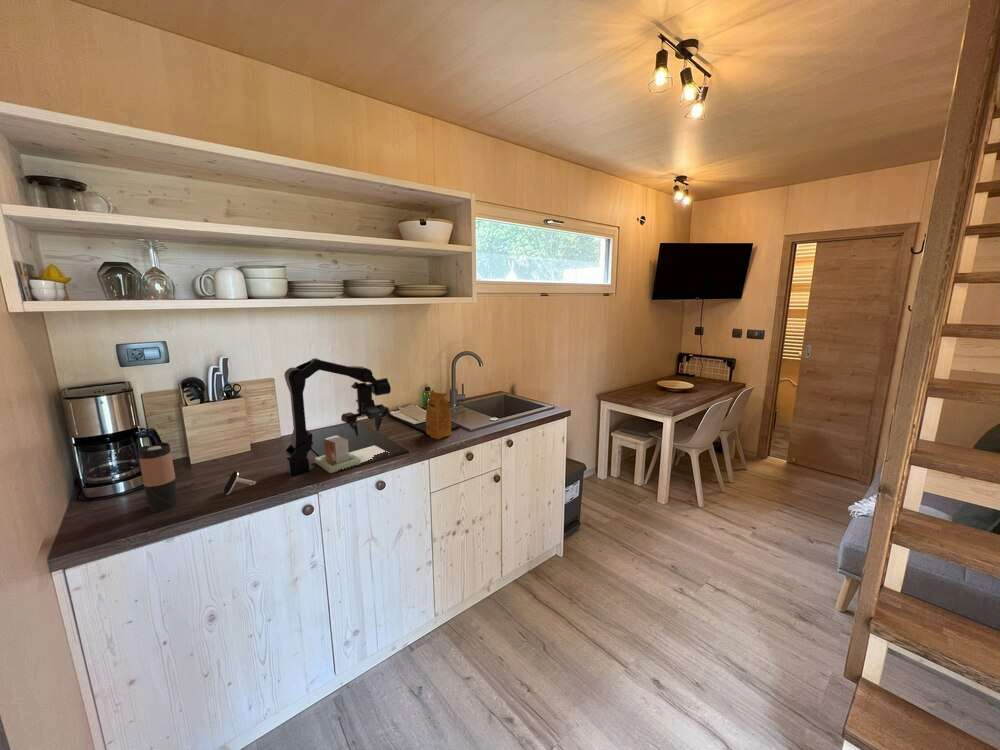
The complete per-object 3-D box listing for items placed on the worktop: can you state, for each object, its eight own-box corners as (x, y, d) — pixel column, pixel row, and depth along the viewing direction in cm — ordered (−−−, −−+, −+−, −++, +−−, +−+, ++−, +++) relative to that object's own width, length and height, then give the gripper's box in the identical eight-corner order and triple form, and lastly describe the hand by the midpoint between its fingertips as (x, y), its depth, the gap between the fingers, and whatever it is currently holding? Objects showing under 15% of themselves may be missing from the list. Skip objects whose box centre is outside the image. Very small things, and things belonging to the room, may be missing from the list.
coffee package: (441, 430, 200) (440, 387, 195) (454, 436, 190) (453, 391, 186) (423, 434, 194) (421, 390, 190) (435, 441, 184) (434, 395, 180)
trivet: (361, 463, 159) (360, 462, 159) (346, 454, 168) (346, 453, 168) (390, 454, 168) (389, 453, 168) (374, 446, 177) (374, 445, 177)
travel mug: (168, 512, 123) (157, 451, 119) (141, 513, 123) (130, 451, 119) (185, 499, 131) (175, 442, 127) (160, 500, 130) (150, 442, 126)
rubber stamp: (226, 496, 132) (238, 473, 134) (222, 492, 135) (234, 469, 137) (249, 501, 138) (261, 478, 139) (245, 496, 141) (256, 474, 143)
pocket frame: (330, 473, 150) (329, 468, 150) (315, 463, 160) (314, 457, 159) (360, 464, 159) (360, 459, 158) (344, 454, 168) (344, 449, 168)
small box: (325, 463, 159) (323, 438, 157) (338, 459, 164) (336, 434, 162) (336, 468, 155) (334, 442, 153) (349, 463, 159) (347, 438, 157)
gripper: (352, 405, 152) (355, 444, 155) (395, 396, 165) (397, 432, 168) (339, 400, 159) (342, 437, 162) (381, 392, 172) (383, 426, 175)
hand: (367, 433), depth 167 cm, fingers open, 9 cm apart
